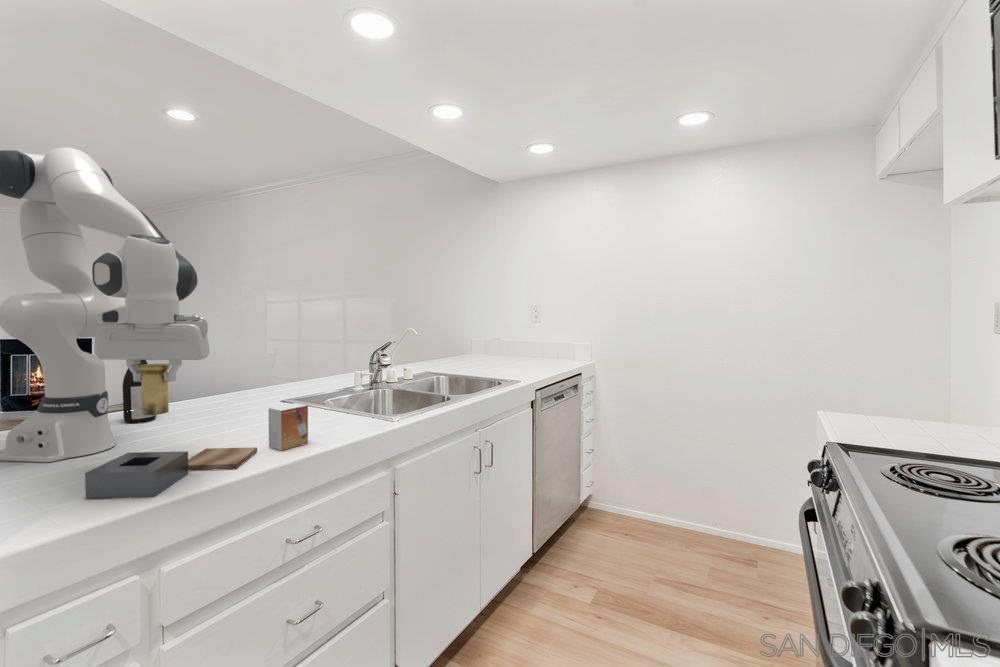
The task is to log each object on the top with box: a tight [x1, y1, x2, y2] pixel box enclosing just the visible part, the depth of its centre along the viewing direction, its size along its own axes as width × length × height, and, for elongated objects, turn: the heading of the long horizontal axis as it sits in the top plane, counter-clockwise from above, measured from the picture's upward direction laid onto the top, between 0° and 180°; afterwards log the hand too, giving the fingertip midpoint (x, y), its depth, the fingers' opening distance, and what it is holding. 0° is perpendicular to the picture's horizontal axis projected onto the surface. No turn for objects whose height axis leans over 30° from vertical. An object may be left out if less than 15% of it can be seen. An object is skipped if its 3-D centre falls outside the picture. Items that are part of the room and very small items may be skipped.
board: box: [188, 446, 258, 471], centre depth 108 cm, size 12×12×1 cm
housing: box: [84, 450, 190, 500], centre depth 93 cm, size 12×12×5 cm
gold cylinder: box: [138, 362, 171, 416], centre depth 95 cm, size 5×5×10 cm
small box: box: [268, 402, 309, 451], centre depth 121 cm, size 8×6×10 cm
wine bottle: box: [122, 360, 157, 424], centre depth 142 cm, size 8×8×30 cm
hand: (155, 381), depth 95 cm, fingers closed on gold cylinder, 4 cm apart
